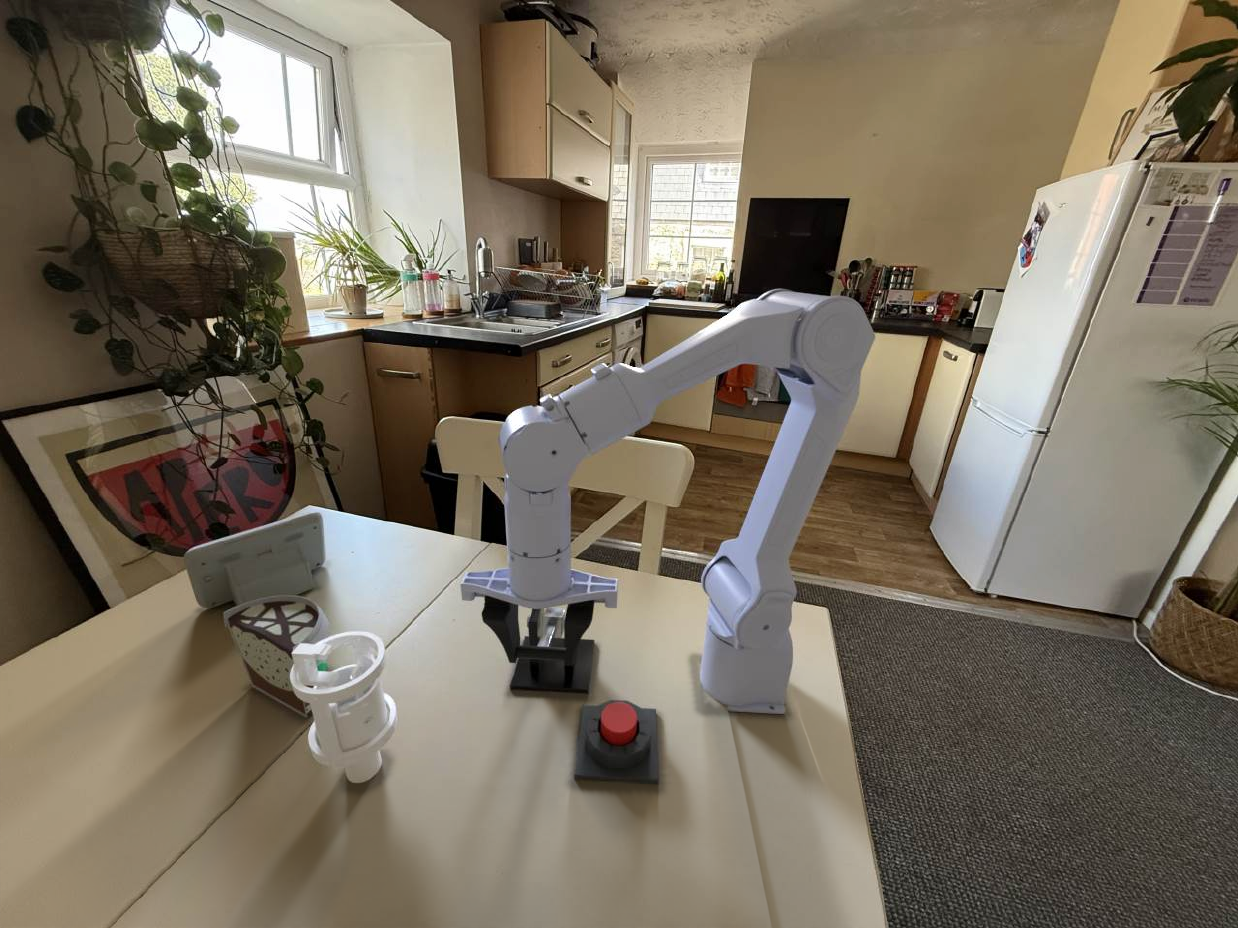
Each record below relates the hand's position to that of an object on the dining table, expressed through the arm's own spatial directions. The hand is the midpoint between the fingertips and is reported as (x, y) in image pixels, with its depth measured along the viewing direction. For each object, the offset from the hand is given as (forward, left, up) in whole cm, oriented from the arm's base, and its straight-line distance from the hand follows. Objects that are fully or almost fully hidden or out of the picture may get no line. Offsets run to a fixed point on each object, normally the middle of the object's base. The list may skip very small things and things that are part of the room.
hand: (542, 657), depth 50 cm
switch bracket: (0, -7, -9) cm, 11 cm away
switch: (0, -4, -2) cm, 4 cm away
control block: (-8, +3, -9) cm, 12 cm away
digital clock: (+43, -19, -9) cm, 48 cm away
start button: (-8, +3, -6) cm, 10 cm away
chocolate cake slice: (+28, -3, -9) cm, 30 cm away
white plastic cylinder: (+16, +7, -9) cm, 20 cm away
